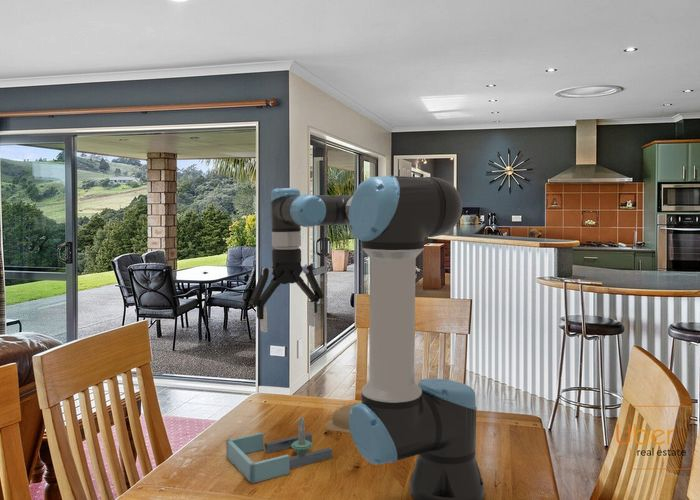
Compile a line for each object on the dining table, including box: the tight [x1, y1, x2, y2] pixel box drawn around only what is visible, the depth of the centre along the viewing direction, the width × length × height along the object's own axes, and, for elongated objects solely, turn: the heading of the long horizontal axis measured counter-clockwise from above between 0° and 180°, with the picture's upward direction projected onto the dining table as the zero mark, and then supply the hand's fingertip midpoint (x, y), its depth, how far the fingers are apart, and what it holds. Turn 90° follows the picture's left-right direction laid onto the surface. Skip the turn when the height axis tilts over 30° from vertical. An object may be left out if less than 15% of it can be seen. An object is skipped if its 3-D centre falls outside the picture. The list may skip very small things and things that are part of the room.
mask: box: [324, 402, 358, 434], centre depth 157 cm, size 15×7×30 cm
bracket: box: [225, 432, 290, 484], centre depth 134 cm, size 16×9×4 cm, turn 31°
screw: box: [291, 416, 313, 456], centre depth 140 cm, size 9×5×5 cm
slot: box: [264, 432, 333, 469], centre depth 140 cm, size 12×12×2 cm
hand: (288, 328), depth 153 cm, fingers open, 13 cm apart
